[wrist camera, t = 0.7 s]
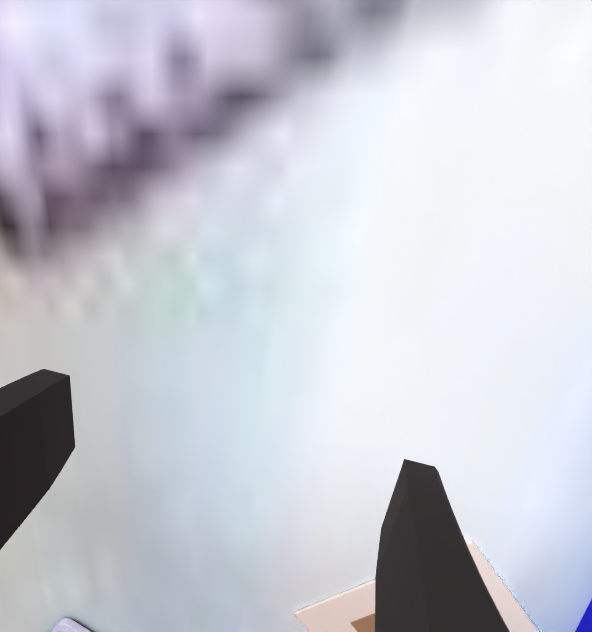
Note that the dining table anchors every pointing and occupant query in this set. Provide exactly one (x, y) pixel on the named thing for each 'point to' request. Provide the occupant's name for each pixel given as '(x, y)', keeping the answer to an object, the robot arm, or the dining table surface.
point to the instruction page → (359, 605)
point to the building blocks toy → (586, 621)
